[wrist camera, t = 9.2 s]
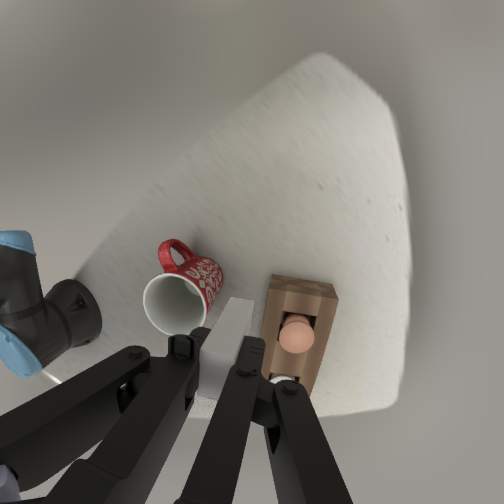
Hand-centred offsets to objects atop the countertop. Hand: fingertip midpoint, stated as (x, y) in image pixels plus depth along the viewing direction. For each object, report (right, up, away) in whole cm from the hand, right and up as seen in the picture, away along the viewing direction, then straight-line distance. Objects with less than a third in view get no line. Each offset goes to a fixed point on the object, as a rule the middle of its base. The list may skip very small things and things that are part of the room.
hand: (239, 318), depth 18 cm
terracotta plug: (+8, -6, +26) cm, 28 cm away
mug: (-8, +2, +30) cm, 31 cm away
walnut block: (+7, -11, +30) cm, 33 cm away
